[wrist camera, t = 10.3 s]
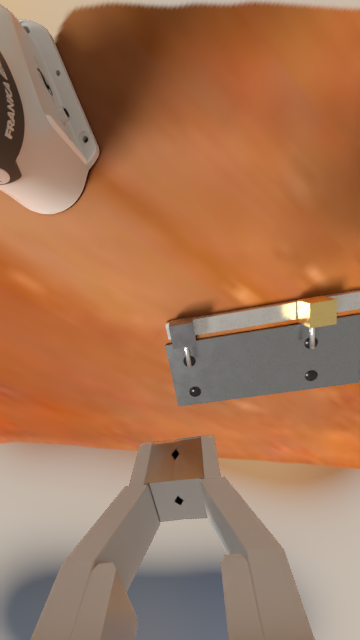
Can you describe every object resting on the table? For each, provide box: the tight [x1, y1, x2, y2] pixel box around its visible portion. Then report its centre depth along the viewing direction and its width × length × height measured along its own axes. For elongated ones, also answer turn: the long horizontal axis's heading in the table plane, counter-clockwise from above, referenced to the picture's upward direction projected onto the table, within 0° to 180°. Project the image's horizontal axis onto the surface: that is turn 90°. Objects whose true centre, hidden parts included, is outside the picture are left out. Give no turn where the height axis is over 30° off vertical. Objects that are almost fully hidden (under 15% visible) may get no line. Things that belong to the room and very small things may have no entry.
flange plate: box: [165, 314, 360, 406], centre depth 38 cm, size 14×36×1 cm, turn 100°
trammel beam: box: [165, 290, 360, 367], centre depth 34 cm, size 9×34×5 cm, turn 100°
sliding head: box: [297, 296, 337, 349], centre depth 33 cm, size 9×4×4 cm, turn 10°
